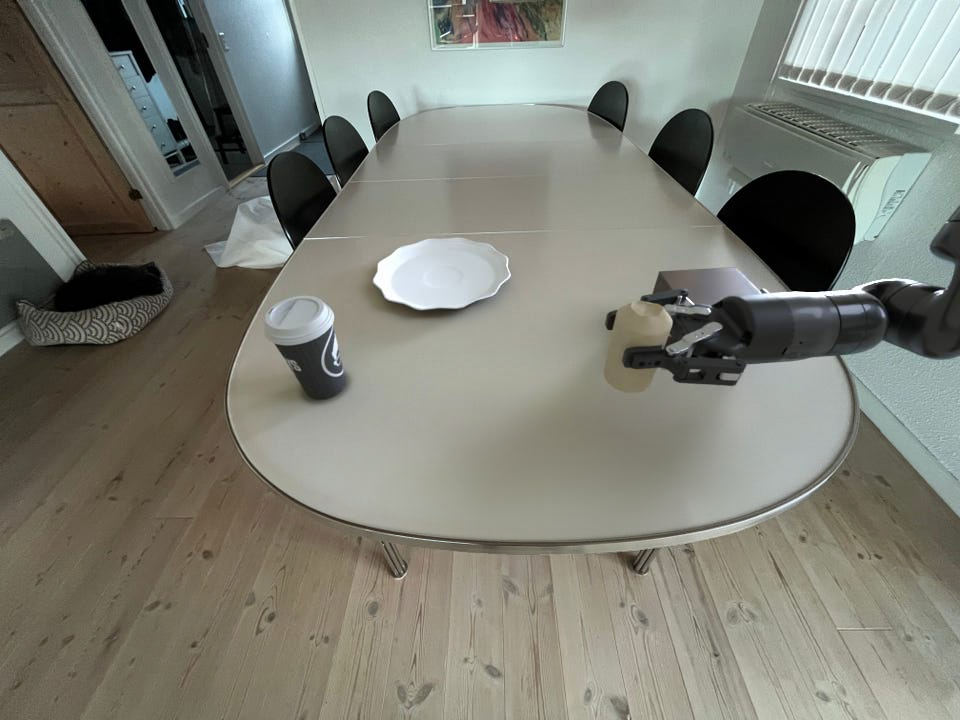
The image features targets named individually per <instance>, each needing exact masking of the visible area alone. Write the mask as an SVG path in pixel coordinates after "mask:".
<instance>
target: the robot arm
mask: <svg viewBox="0 0 960 720" xmlns="http://www.w3.org/2000/svg"><path fill="white" fill-rule="evenodd" d="M929 251H930V254H932V255H933V256H934V257H935V258H937V259H938V260H940V261H942V262H944V263H946V264H949V265H951V266H954V269H953V273H952V277H951V280H950V282H949V284H948V286H947V287H944V286H941V285H935V284H932V283H928V282H925V281H920V280H915V279H907V278H887V279H880V280H879V279H878V280H875V281H871V282H868V283H865V284H861V285H858V286H855V287H854V286H853V287H851V288H849V289H846V290H830V291H815V292H811V291H810V292H806V291H780V292H769V293H763V294H748V295H734V296H728V297H726V298H724V299H722V300H720V301H719V302H717V303H715V304H713V305H704V304H698V303H696V304H693V303H692V302H691V301H690V300H689V299H688V298H687V296H688V294H689V291H688V290H686V289H676V290H671V291H665V292H660V293H654V294H652V293H649V294H644V295H641V297H640V299H639V301H644V302H649V303H655V304H659V305H661V306H663V307H664V309H665V311H666V312H667V313H668V314H669V315H670V317H671V316H673V315H675V317H674V319H673V322H672V327H671V330H670V333H669V336H670V337H673V338H674V339H675V340H676V341H677V342H676V343H674V344H671V345H669V346H667V347H666V349H665V347H664V348H663V347H662V345H658V346H644V347H630V348H627V349H626V350H625V351H624V354H623V358H622V363H623V365H624V367H625V368H632V369H646V368H647V369H649V368H657V369H661V370H662V371H665V372H670V373H671V375H672V380H673V381H674V382H676V383H677V384H688V385H689V384H690V385H691V384H692V385H708V386H724V387H725V386H726V387H735V386H736V385H737V383H738V382H739V380H740V379H741V377H742V375H743V373H744V372H745V369H746V367H747V365H759V364H760V365H761V364H774V363H787V362H788V363H789V362H797V361H798V362H799V361H802V360H807V359H811V358H812V359H813V358H823V357H824V358H825V357H837V356H849V355H855V354H860V353H864V352H867V351H869V350H873V349H874V348H875V347H876V346H878V345H879V344H880V343H881V342H882V341H883V342H885V343H887V344H891V345H892V346H895V347H898V348H900V349H903V350H905V351H908V352H910V353H913V354H915V355H917V356H920V357H923V358H926V359H930V360H934V361H946V360H952V359H953V360H954V359H956V358H959V357H960V204H958V206H957V207H956V208H955V210H954V211H953V212H952V213H951V214H950V216H949V217H948V219H947V220H946V221H945V222H944V223H943V224H942V226H941V227H940V228H939V230H938V231H937V232H936V234H935V235H934V237H933V238H932V240H931V242H930V244H929ZM618 310H619V309H614V310H611V311H609V312H608V313H606V317H605V320H604V321H605V322H604V326H605V328H606V330H607V331H611V332H612V331H613V326H614V322H615V318H616V313H617V311H618ZM691 370H696V371H691ZM697 370H699V371H697Z"/></svg>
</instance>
